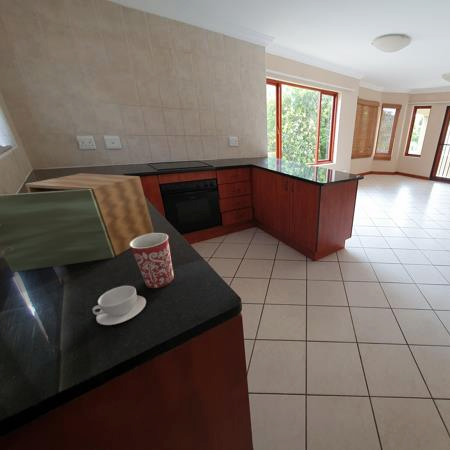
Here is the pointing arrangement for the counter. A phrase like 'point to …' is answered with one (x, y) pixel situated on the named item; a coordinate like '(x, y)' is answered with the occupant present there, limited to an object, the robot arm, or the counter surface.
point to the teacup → (118, 305)
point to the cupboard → (109, 203)
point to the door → (51, 229)
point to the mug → (153, 259)
